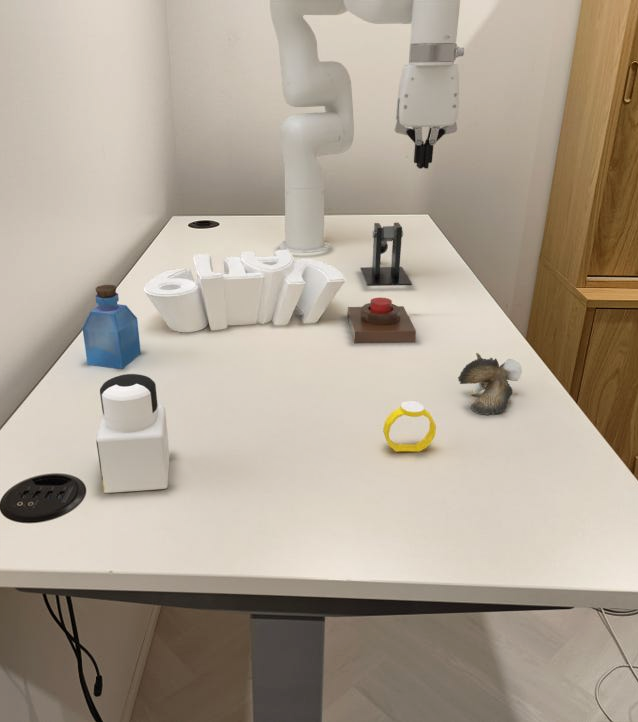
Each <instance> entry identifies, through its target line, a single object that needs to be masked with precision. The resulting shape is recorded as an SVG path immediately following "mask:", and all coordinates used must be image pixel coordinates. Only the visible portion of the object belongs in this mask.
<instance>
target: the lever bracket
mask: <svg viewBox="0 0 638 722" xmlns="http://www.w3.org/2000/svg"><path fill="white" fill-rule="evenodd" d="M373 224H374V225H373V230H372V238H373V245H372V263H371V264H372V265H371V266H370V267H366V266H365V267H360V272H361V274H362V277H363V278H364V281H365V284H366V286H367V287H372V286H373V287H382V286H383V287H385V286H391V287H392V286H412V285H413V284H412V281H411V280H410V278H409V276H408V274H407V273H406V271H405V269H404V268H403V267H402V266H401V253H402V252H401V251H402V240H403V239H402V238H403V236H404V231H403V226H402V225H401V223H400V222H393V226H394V239H393V240H392V248H391V263H390V265H391V266H381V258H382V254H381V242H382V228H383V226H382V225H381V223H379V222H374V223H373Z"/></svg>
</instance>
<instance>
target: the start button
mask: <svg viewBox="0 0 638 722" xmlns="http://www.w3.org/2000/svg"><path fill="white" fill-rule="evenodd" d="M369 303H370V311H373V312H377V313H387V312H391V309H392V304H393V300H392V299H390V298H389V297H382V296H381V297H380V296H379V297H374V298H371V299H370V302H369Z"/></svg>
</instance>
